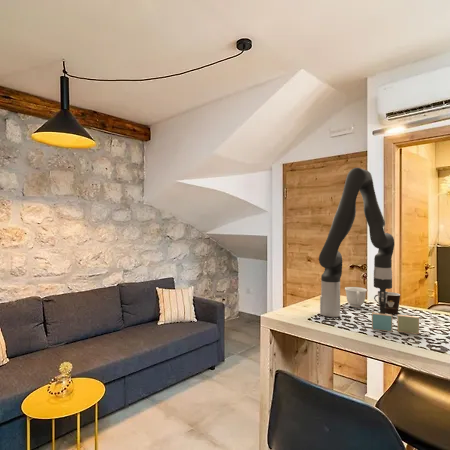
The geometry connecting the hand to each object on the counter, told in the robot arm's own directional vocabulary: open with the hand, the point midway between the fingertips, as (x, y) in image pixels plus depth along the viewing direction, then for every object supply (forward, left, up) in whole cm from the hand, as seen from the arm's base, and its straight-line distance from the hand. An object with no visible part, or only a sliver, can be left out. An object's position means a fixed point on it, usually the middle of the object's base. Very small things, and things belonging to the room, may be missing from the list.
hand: (382, 315), depth 145 cm
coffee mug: (+2, +29, -5) cm, 29 cm away
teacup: (-14, +32, -5) cm, 35 cm away
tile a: (0, -5, -5) cm, 7 cm away
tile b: (+10, -3, -5) cm, 12 cm away
